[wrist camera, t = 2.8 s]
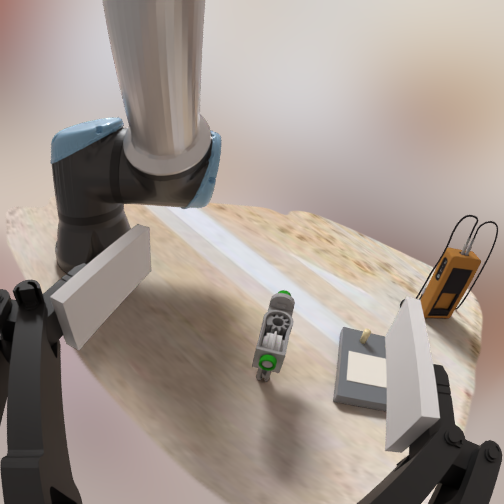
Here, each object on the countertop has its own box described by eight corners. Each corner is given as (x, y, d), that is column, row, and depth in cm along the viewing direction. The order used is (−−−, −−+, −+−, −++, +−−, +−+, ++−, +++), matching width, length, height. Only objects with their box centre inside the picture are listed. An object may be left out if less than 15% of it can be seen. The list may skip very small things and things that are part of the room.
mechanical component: (281, 350, 40) (298, 292, 35) (266, 415, 32) (285, 362, 26) (259, 344, 41) (272, 285, 35) (240, 408, 32) (252, 354, 27)
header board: (333, 401, 34) (342, 385, 32) (340, 333, 44) (347, 316, 42) (430, 416, 32) (444, 402, 30) (422, 352, 42) (433, 336, 40)
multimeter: (441, 287, 58) (480, 202, 47) (462, 319, 49) (511, 228, 39) (385, 282, 57) (422, 185, 46) (403, 318, 48) (453, 212, 38)
